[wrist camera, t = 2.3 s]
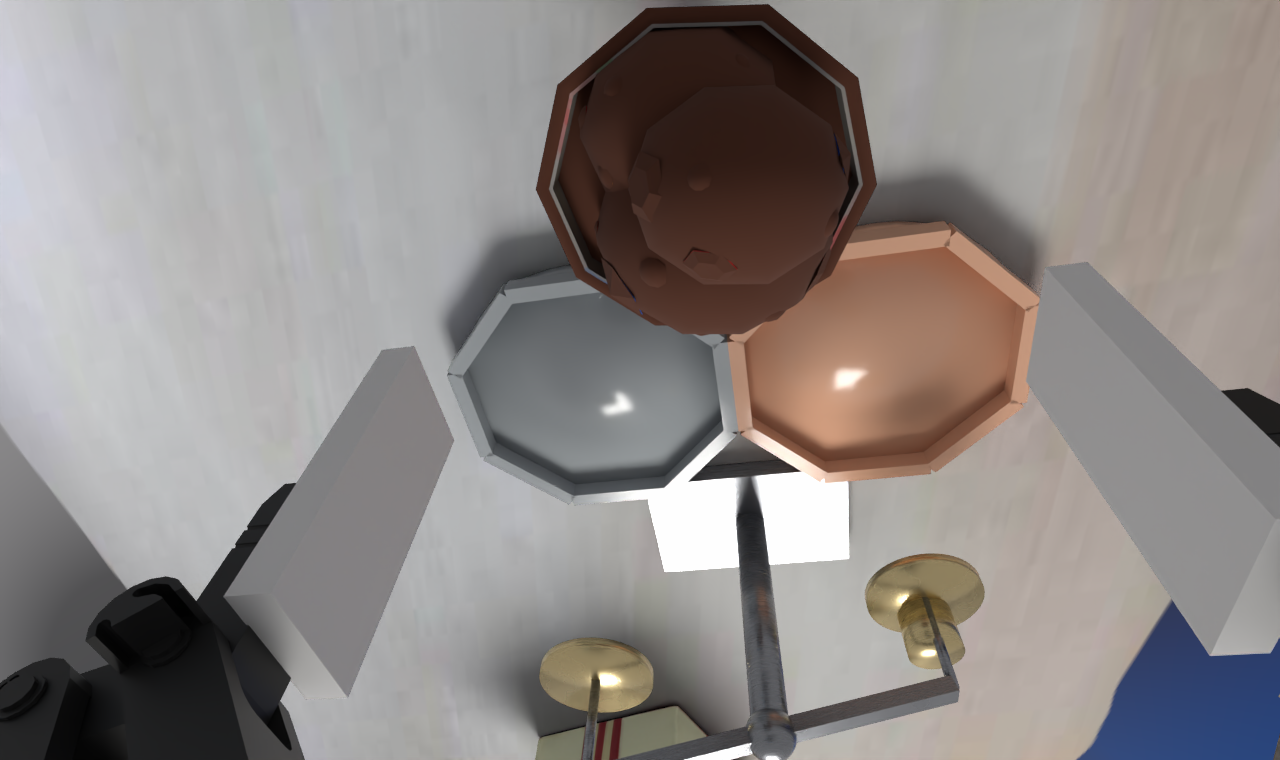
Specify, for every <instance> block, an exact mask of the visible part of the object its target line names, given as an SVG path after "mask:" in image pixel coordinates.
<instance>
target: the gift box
mask: <svg viewBox="0 0 1280 760" xmlns="http://www.w3.org/2000/svg"><path fill="white" fill-rule="evenodd" d="M585 732H586V727H582V728H578V729H574V730H570V731H566V732H562V733H558V734H553V735H549V736H545V737H541V738H540V739H539V741H538V747H537V753H536V758H535V760H582V758H583V749H584V740H585ZM707 736H708V735H706V734H705V733H704V732H703V731H702V730H701V729H700V728H699V727H698V726H697V725H696V724H695V723H694V722H693V721H692V720H691V719H690V718H689V716H688V715H687V714H686V713H685V712H684V711H683V710H681V709H680V708H679V707H678V706H671V707H667V708H662V709H658V710H654V711H650V712H645V713H641V714H636V715H632V716H628V717H624V718H619V719H614V720H610V721H606V722H602V723H597V724H596V733H595V743H594V752H593V760H616V759H619V758H623V757H627V756H631V755H635V754H639V753H643V752H647V751H651V750H655V749H659V748H663V747H667V746H671V745H675V744H679V743H683V742H687V741H691V740H695V739H699V738H703V737H707Z"/></svg>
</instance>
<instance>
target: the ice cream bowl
mask: <svg viewBox="0 0 1280 760" xmlns="http://www.w3.org/2000/svg"><path fill="white" fill-rule="evenodd" d="M876 185H877V183H876V177H875V171H874V166H873V160H872V154H871V148H870V143H869V137H868V131H867V126H866V120H865V114H864V109H863V103H862V97H861V91H860V86H859V80H858V77H856V76H855V75H854V74H853V73H852V72H850V71H849V70H848V69H847V68H845V67H844V66H843V65H842V64H841V63H839V62H838V61H837V60H836V59H834V58H833V57H832V56H831V55H830V54H828V53H827V52H826V51H825V50H823V49H822V48H821V47H820V46H819V45H817V44H816V43H815V42H814V41H812V40H811V39H810V38H809V37H808V36H806V35H805V34H804V33H803V32H802V31H800V30H799V29H798V28H797V27H795V26H794V25H793V24H792V23H791V22H789V21H788V20H787V19H786V18H784V17H783V16H782V15H781V14H780V13H778V12H777V11H776V10H775V9H773V8H772V7H771V6H770V5H769V4H763V5H730V6H697V7H664V8H646V9H645V10H644V11H643V12H642V13H640V14H639V15H638V16H637V17H636V18H635V19H633V20H632V21H631V22H630V23H629V24H628V25H627V26H625V27H624V28H623V29H622V30H621V31H620V32H618V33H617V34H616V35H615V36H614V37H613V38H611V39H610V40H609V41H608V42H607V43H606V44H604V45H603V46H602V47H601V48H600V49H599V50H598V51H596V52H595V53H594V54H593V55H592V56H591V57H589V58H588V59H587V60H586V61H585V62H584V63H582V64H581V65H580V66H579V67H578V68H577V69H576V70H574V71H573V72H572V73H571V74H570V75H569V76H567V77H566V78H565V79H564V80H563V81H562V82H560V83H559V84H558V85H557V90H556V95H555V100H554V104H553V109H552V114H551V119H550V124H549V129H548V133H547V138H546V143H545V148H544V153H543V158H542V163H541V167H540V172H539V177H538V182H537V187H536V191H537V193H538V195H539V197H540V200H541V202H542V204H543V206H544V208H545V210H546V213H547V215H548V217H549V219H550V221H551V224H552V226H553V228H554V230H555V232H556V234H557V237H558V239H559V241H560V243H561V245H562V248H563V250H564V252H565V254H566V256H567V258H568V261H569V263H570V265H571V267H572V269H573V272H574V274H575V276H576V278H578V279H579V280H581V281H583V282H584V283H586V284H588V285H589V286H591V287H593V288H594V289H596V290H598V291H599V292H601V293H602V294H604V295H606V296H607V297H609V298H611V299H612V300H614V301H616V302H617V303H619V304H620V305H622V306H624V307H625V308H627V309H629V310H630V311H632V312H634V313H635V314H637V315H638V316H640V317H642V318H643V319H645V320H647V321H648V322H650V323H652V324H653V325H655V326H669V327H671V328H673V329H674V330H676V331H678V332H680V333H681V334H696V335H699V336H704V335H709V334H744V333H746V332H747V331H749V330H751V329H753V328H755V327H757V326H758V325H760V324H762V323H764V322H770V321H774V320H778V319H779V318H780V317H781V316H782V315H783V314H784V313H785V311H786V310H788V309H790V308H791V307H793V306H795V305H796V304H797V303H799V302H800V301H801V300H802V299H804V297H805V295H806V293H807V292H808V291H809V290H810V289H812V288H813V287H814V286H815V285H816V284H818V283H820V282H821V281H823V280H825V279H826V278H828V277H830V276H831V275H832V273H833V271H834V269H835V267H836V265H837V263H838V261H839V259H840V257H841V255H842V253H843V251H844V249H845V247H846V245H847V243H848V241H849V239H850V237H851V235H852V233H853V231H854V229H855V227H856V225H857V223H858V221H859V219H860V217H861V215H862V213H863V211H864V209H865V207H866V205H867V203H868V201H869V199H870V197H871V195H872V193H873V191H874V189H875V187H876Z"/></svg>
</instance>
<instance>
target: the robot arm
mask: <svg viewBox="0 0 1280 760" xmlns="http://www.w3.org/2000/svg"><path fill="white" fill-rule="evenodd" d="M1026 382H1027V384H1028V385H1029V387H1030V388H1031V390H1032V391H1033V393H1034V394H1035V396H1036V397H1037V399H1038V400H1039V402H1040V403H1041V405H1042V406H1043V408H1044V409H1045V411H1046V412H1047V414H1048V415H1049V417H1050V418H1051V419H1052V421H1053V422H1054V424H1055V425H1056V427H1057V428H1058V430H1059V431H1060V433H1061V434H1062V436H1063V437H1064V439H1065V440H1066V442H1067V443H1068V445H1069V446H1070V448H1071V449H1072V451H1073V452H1074V454H1075V455H1076V457H1077V458H1078V460H1079V461H1080V463H1081V464H1082V466H1083V467H1084V469H1085V470H1086V472H1087V473H1088V475H1089V476H1090V478H1091V479H1092V481H1093V482H1094V484H1095V485H1096V487H1097V488H1098V490H1099V491H1100V493H1101V494H1102V496H1103V497H1104V499H1105V500H1106V502H1107V503H1108V504H1109V506H1110V507H1111V509H1112V510H1113V512H1114V513H1115V515H1116V516H1117V518H1118V519H1119V521H1120V522H1121V524H1122V525H1123V527H1124V528H1125V530H1126V531H1127V533H1128V534H1129V536H1130V537H1131V539H1132V540H1133V542H1134V543H1135V545H1136V546H1137V548H1138V549H1139V551H1140V552H1141V554H1142V555H1143V557H1144V558H1145V560H1146V561H1147V563H1148V564H1149V566H1150V567H1151V569H1152V570H1153V572H1154V573H1155V575H1156V576H1157V578H1158V579H1159V581H1160V582H1161V584H1162V585H1163V587H1164V588H1165V589H1166V591H1167V592H1168V594H1169V595H1170V597H1171V598H1172V600H1173V601H1174V603H1175V604H1176V606H1177V607H1178V609H1179V610H1180V612H1181V613H1182V615H1183V616H1184V617H1185V619H1186V621H1187V622H1188V624H1189V625H1190V627H1191V628H1192V629H1193V631H1194V633H1195V634H1196V636H1197V637H1198V639H1199V640H1200V642H1201V643H1202V645H1203V646H1204V647H1205V649H1206V651H1207V652H1208V654H1209V655H1210V656H1216V655H1238V654H1259V653H1271V651H1272V649H1273V648H1274V646H1275V644H1276V642H1277V641H1278V639H1279V637H1280V404H1278V403H1276V402H1274V401H1272V400H1270V399H1268V398H1266V397H1264V396H1262V395H1260V394H1258V393H1256V392H1254V391H1252V390H1250V389H1248V388H1245V389H1235V390H1225V391H1220V390H1219V389H1218V388H1217V387H1216V386H1215V385H1214V384H1213V383H1212V382H1211V381H1210V380H1209V379H1208V378H1207V377H1206V376H1205V375H1204V374H1203V373H1202V372H1201V371H1200V370H1199V369H1198V368H1197V367H1196V366H1195V365H1193V364H1192V363H1191V362H1190V361H1189V360H1188V359H1187V358H1186V357H1185V356H1184V355H1183V354H1182V353H1181V352H1180V351H1179V350H1178V349H1177V348H1176V347H1175V346H1174V345H1173V344H1172V343H1171V342H1170V341H1169V340H1168V339H1167V338H1165V337H1164V336H1163V335H1162V334H1161V333H1160V332H1159V331H1158V330H1157V329H1156V328H1155V327H1154V326H1153V325H1152V324H1151V323H1150V322H1149V321H1148V320H1147V319H1146V318H1145V317H1144V316H1143V315H1142V314H1141V313H1140V312H1139V311H1137V310H1136V309H1135V308H1134V307H1133V306H1132V305H1131V304H1130V303H1129V302H1128V301H1127V300H1126V299H1125V298H1124V297H1123V296H1122V295H1121V294H1120V293H1119V292H1118V291H1117V290H1116V289H1115V288H1114V287H1113V286H1112V285H1111V284H1109V283H1108V282H1107V281H1106V280H1105V279H1104V278H1103V277H1102V276H1101V275H1100V274H1099V273H1098V272H1097V271H1096V270H1095V269H1094V268H1093V267H1092V266H1091V265H1090V264H1089V263H1088V262H1084V263H1076V264H1068V265H1060V266H1052V267H1045V270H1044V276H1043V282H1042V288H1041V294H1040V300H1039V306H1038V312H1037V318H1036V324H1035V330H1034V336H1033V342H1032V348H1031V354H1030V360H1029V366H1028V372H1027V378H1026ZM453 442H454V439H453V436H452V434H451V432H450V429H449V427H448V424H447V422H446V420H445V417H444V415H443V413H442V410H441V408H440V406H439V403H438V401H437V399H436V396H435V394H434V391H433V389H432V387H431V384H430V382H429V380H428V377H427V375H426V373H425V370H424V368H423V366H422V363H421V361H420V359H419V356H418V354H417V351H416V349H415V347H414V346H411V347H403V348H395V349H387V350H382V351H381V353H380V354H379V356H378V357H377V359H376V360H375V362H374V363H373V365H372V367H371V368H370V370H369V371H368V373H367V374H366V376H365V377H364V379H363V381H362V382H361V384H360V385H359V387H358V388H357V390H356V391H355V393H354V395H353V396H352V398H351V399H350V401H349V402H348V404H347V405H346V407H345V409H344V410H343V412H342V413H341V415H340V416H339V418H338V419H337V421H336V423H335V424H334V426H333V427H332V429H331V430H330V432H329V433H328V435H327V436H326V438H325V440H324V441H323V443H322V444H321V446H320V447H319V449H318V450H317V452H316V454H315V455H314V457H313V458H312V460H311V461H310V463H309V464H308V466H307V468H306V469H305V471H304V472H303V474H302V475H301V477H300V478H299V480H298V482H297V483H291V484H284V485H283V486H282V487H281V488H280V489H279V490H278V491H277V492H275V493H274V494H273V495H272V496H271V497H270V498H269V499H268V500H266V501H265V502H264V503H263V504H262V505H261V507H260V508H259V510H258V511H257V513H256V514H255V516H254V517H253V518H252V520H251V521H250V523H249V524H248V526H247V527H248V530H245V531H244V532H243V533H242V535H241V536H240V538H239V539H238V541H237V542H236V544H235V545H236V547H235V548H233V549H232V550H231V551H230V552H229V554H228V555H227V557H226V558H225V560H224V561H223V563H222V564H221V566H220V567H219V569H218V570H217V572H216V573H215V575H214V576H213V578H212V579H211V581H210V582H209V583H208V585H207V586H206V588H205V589H204V591H203V592H202V594H201V595H200V597H199V598H198V600H197V601H196V600H195V599H194V598H193V597H192V595H191V594H190V593H189V592H188V591H187V589H186V588H185V587H184V586H183V585H182V584H181V582H180V581H179V580H178V579H175V578H171V577H160V578H154V579H149V580H147V581H145V582H142V583H140V584H138V585H135V586H133V587H131V588H130V589H128V590H126V591H125V592H124V593H122V594H121V595H119V596H117V597H116V598H114V599H113V600H112V601H111V602H110V603H109V604H108V605H107V606H106V607H105V608H104V609H102V610H101V611H100V612H99V613H98V615H97V616H96V618H95V619H94V621H93V622H92V624H91V625H90V626H89V628H88V633H87V637H86V642H87V643H88V644H89V645H90V646H91V647H92V648H93V649H94V650H95V651H97V653H98V654H100V655H101V656H102V657H103V658H104V659H105V660H106V661H107V662H108V663H109V665H106V666H103V667H100V668H97V669H94V670H91V671H88V672H85V673H82V674H79V673H78V672H77V671H76V670H75V669H74V668H73V667H72V666H71V665H70V664H69V663H67V662H66V661H65V660H64V659H59V658H48V659H45V660H42V661H38V662H35V663H32V664H30V665H28V666H26V667H24V668H23V669H21V670H19V671H17V672H15V673H14V674H12V675H11V676H9V677H8V678H7V679H6V680H4V681H2V682H1V683H0V760H305V759H304V756H303V753H302V750H301V747H300V744H299V741H298V738H297V735H296V732H295V729H294V726H293V723H292V720H291V718H290V715H289V712H288V711H287V709H286V708H285V707H284V705H283V704H282V703H281V702H280V700H281V698H282V696H283V694H284V692H285V690H286V688H287V686H288V684H289V682H290V681H291V682H292V683H293V684H294V686H295V687H296V688H297V689H298V691H299V692H300V693H301V694H302V696H303V697H304V698H305V699H306V700H315V699H336V698H348V696H349V694H350V692H351V689H352V687H353V684H354V682H355V679H356V677H357V675H358V672H359V670H360V667H361V665H362V663H363V660H364V658H365V655H366V653H367V650H368V648H369V646H370V643H371V641H372V638H373V636H374V633H375V631H376V629H377V626H378V624H379V621H380V619H381V617H382V614H383V612H384V609H385V607H386V604H387V602H388V600H389V597H390V595H391V592H392V590H393V587H394V585H395V583H396V580H397V578H398V575H399V573H400V571H401V568H402V566H403V563H404V561H405V558H406V556H407V554H408V551H409V549H410V546H411V544H412V541H413V539H414V537H415V534H416V532H417V529H418V527H419V525H420V522H421V520H422V517H423V515H424V512H425V510H426V508H427V505H428V503H429V500H430V498H431V495H432V493H433V491H434V488H435V486H436V483H437V481H438V478H439V476H440V474H441V471H442V469H443V466H444V464H445V462H446V459H447V457H448V454H449V452H450V449H451V447H452V445H453ZM1278 697H1280V695H1279V696H1278ZM1273 760H1280V736H1279V740H1278V743H1277V747H1276V751H1275V755H1274V759H1273Z"/></svg>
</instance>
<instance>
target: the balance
mask: <svg viewBox="0 0 1280 760" xmlns="http://www.w3.org/2000/svg"><path fill="white" fill-rule="evenodd" d="M648 503H649V507H650V511H651V515H652V520H653V524H654V528H655V532H656V537H657V541H658V545H659V549H660V553H661V558H662V562H663V566H664V570H665V572H673V571H686V570H700V569H714V568H727V567H739V575H740V588H741V601H742V614H743V627H744V640H745V653H746V666H747V679H748V692H749V705H750V718H749V720H748V722H747V725H746V727H743V728H739V729H735V730H731V731H727V732H723V733H719V734H715V735H711V736H707V737H703V738H699V739H695V740H691V741H687V742H683V743H679V744H675V745H671V746H667V747H663V748H659V749H655V750H651V751H647V752H643V753H639V754H635V755H631V756H627V757H623V758H619V759H616V760H731V759H735V758H739V757H743V756H746V755H750V754H754V755H755V756H756V757H757V758H758V759H760V760H786V759H788V758H789V757H790V756H791V755H792V753H793V751H794V750H795V747H796V743H798V742H802V741H806V740H810V739H814V738H818V737H821V736H825V735H829V734H833V733H837V732H841V731H845V730H849V729H853V728H857V727H861V726H865V725H869V724H873V723H877V722H881V721H885V720H889V719H893V718H897V717H900V716H904V715H908V714H912V713H916V712H920V711H924V710H928V709H932V708H936V707H940V706H944V705H948V704H952V703H956V702H958V697H959V684H958V681H957V678H956V675H955V672H954V669H953V666H952V665H953V664H955V663H957V662H958V661H960V660H961V659H962V657H963V656H964V654H965V647H964V645H963V642H962V639H961V636H960V633H959V631H958V628H957V625H958V624H960V623H962V622H964V621H965V620H967V619H968V618H970V617H971V616H972V615H973V614H974V613H975V612H976V611H977V610H978V609H979V607H980V606H981V604H982V602H983V599H984V593H985V591H984V586H983V584H982V581H981V579H980V577H979V574H978V572H977V571H976V569H975V568H974V567H973V566H972V565H970V564H969V563H968V562H966V561H964V560H962V559H960V558H957V557H954V556H950V555H944V554H919V555H913V556H908V557H905V558H902V559H899V560H896V561H894V562H892V563H890V564H888V565H886V566H885V567H883V568H881V569H880V570H879V571H878V572H876V573H875V574H874V575H873V576H872V578H871V579H870V580H869V582H868V584H867V586H866V589H865V600H866V604H867V608H868V611H869V614H870V615H871V617H872V618H873V619H874V620H875V621H876V622H877V623H878V624H880V625H881V626H883V627H885V628H887V629H890V630H893V631H897V632H901V633H902V636H903V640H904V643H905V647H906V650H907V654H908V657H909V660H910V661H911V663H913V664H914V665H915V666H918V667H920V668H925V669H940V668H942V670H943V673H944V676H945V677H941V678H937V679H933V680H929V681H925V682H921V683H917V684H913V685H909V686H905V687H901V688H897V689H893V690H889V691H885V692H881V693H877V694H873V695H869V696H866V697H862V698H858V699H854V700H850V701H846V702H842V703H838V704H834V705H830V706H826V707H822V708H818V709H814V710H810V711H806V712H802V713H798V714H794V715H790V716H788V711H787V702H786V694H785V686H784V678H783V669H782V661H781V653H780V645H779V637H778V628H777V620H776V612H775V604H774V596H773V587H772V579H771V571H770V564H782V563H796V562H810V561H823V560H837V559H849V500H848V481H846V482H834V483H824V479H823V480H822V481H821V482H818V481H817V480H815V479H813V478H812V477H810V476H808V475H807V474H805V473H803V472H802V471H800V470H798V469H797V468H795V467H793V466H792V465H790V464H788V463H787V462H785V461H783V460H773V461H762V462H751V463H741V464H730V465H719V466H709V467H703V468H702V469H701V470H700V471H699V472H698V473H697V474H696V475H694V476H693V477H692V478H691V479H690V480H689V481H688V482H687V483H686V484H685V485H684V486H683V487H682V488H681V489H680V490H679V491H678V492H677V493H675V494H674V495H672V494H670V493H669V497H664V498H653V499H648ZM539 679H540V683H541V685H542V687H543V689H544V690H545V691H546V693H547V694H549V695H550V696H551V697H552V698H553V699H555V700H556V701H558V702H560V703H562V704H564V705H566V706H569V707H572V708H575V709H578V710H583V711H588V714H587V723H586V732H585V740H584V749H583V758H582V760H593V752H594V743H595V733H596V724H597V714H598V712H600V713H605V712H617V711H622V710H626V709H630V708H632V707H635V706H637V705H639V704H640V703H642V702H643V701H644V700H646V699H647V698H648V696H649V695H650V693H651V692H652V689H653V668H652V665H651V663H650V662H649V660H648V659H647V658H646V657H645V656H644V655H643V654H642V653H641V652H639V651H638V650H636V649H635V648H633V647H631V646H629V645H626V644H624V643H621V642H618V641H614V640H609V639H603V638H579V639H573V640H569V641H565V642H562V643H560V644H558V645H556V646H554V647H553V648H551V649H550V650H549V651H548V652H547V653H546V654H545V656H544V657H543V659H542V663H541V668H540V674H539Z"/></svg>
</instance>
